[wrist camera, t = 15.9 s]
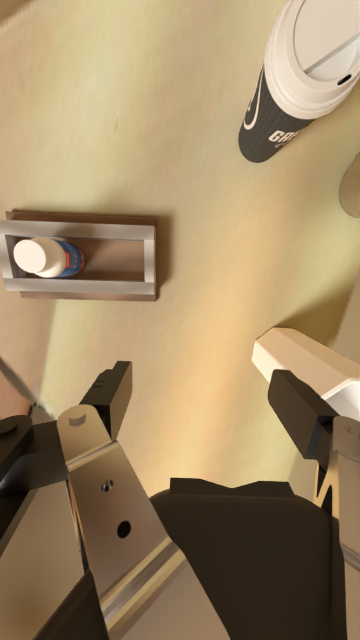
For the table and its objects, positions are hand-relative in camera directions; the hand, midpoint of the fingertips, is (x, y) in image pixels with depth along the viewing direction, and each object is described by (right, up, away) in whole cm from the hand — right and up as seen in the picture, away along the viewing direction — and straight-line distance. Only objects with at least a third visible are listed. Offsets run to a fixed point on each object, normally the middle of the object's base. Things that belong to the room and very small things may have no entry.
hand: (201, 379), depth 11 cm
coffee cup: (+11, +32, +20) cm, 39 cm away
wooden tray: (-17, +14, +24) cm, 33 cm away
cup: (+19, -3, +30) cm, 36 cm away
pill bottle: (-20, +14, +23) cm, 34 cm away
